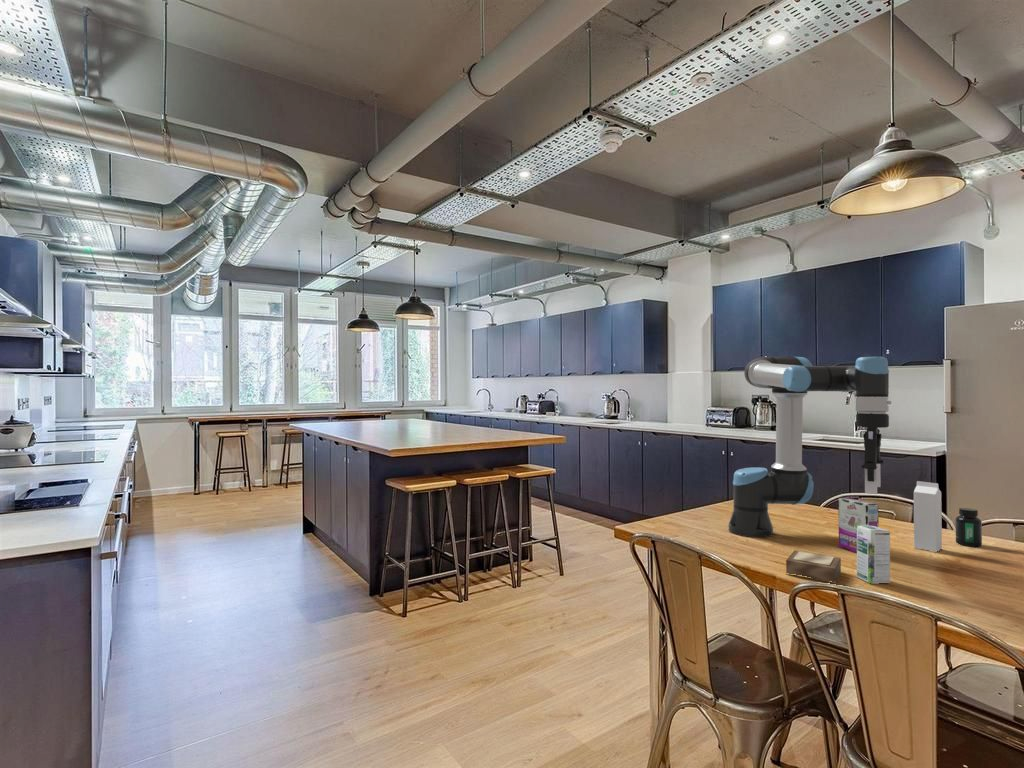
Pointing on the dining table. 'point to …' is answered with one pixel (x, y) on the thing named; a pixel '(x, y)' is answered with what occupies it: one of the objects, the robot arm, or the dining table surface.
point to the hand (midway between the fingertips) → (873, 490)
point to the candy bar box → (854, 520)
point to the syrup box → (873, 554)
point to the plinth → (814, 566)
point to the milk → (927, 517)
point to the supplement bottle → (968, 528)
